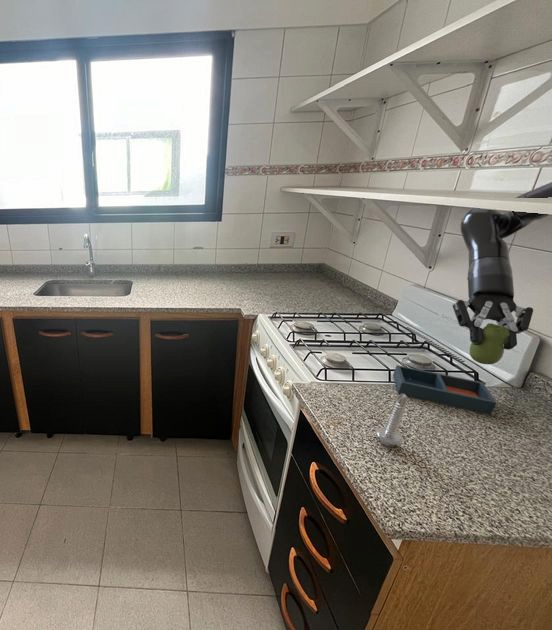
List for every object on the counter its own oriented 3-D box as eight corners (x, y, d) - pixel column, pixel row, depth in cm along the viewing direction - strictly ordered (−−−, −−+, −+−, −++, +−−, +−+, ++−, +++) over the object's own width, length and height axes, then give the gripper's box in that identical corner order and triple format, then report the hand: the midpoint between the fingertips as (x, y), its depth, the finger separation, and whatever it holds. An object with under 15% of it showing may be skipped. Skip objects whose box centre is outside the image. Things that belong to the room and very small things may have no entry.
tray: (477, 393, 91) (482, 382, 89) (490, 415, 83) (496, 403, 82) (392, 375, 99) (396, 364, 97) (397, 393, 91) (401, 382, 90)
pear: (460, 359, 83) (473, 322, 80) (475, 354, 85) (488, 317, 81) (489, 370, 78) (505, 331, 75) (504, 365, 80) (519, 326, 76)
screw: (378, 431, 78) (403, 444, 75) (369, 441, 76) (394, 454, 72) (395, 384, 73) (423, 395, 70) (386, 392, 71) (414, 404, 67)
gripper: (460, 269, 83) (462, 335, 77) (541, 276, 77) (549, 347, 72) (444, 283, 89) (445, 345, 84) (518, 290, 84) (523, 356, 79)
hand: (493, 346), depth 78 cm, fingers closed on pear, 5 cm apart
